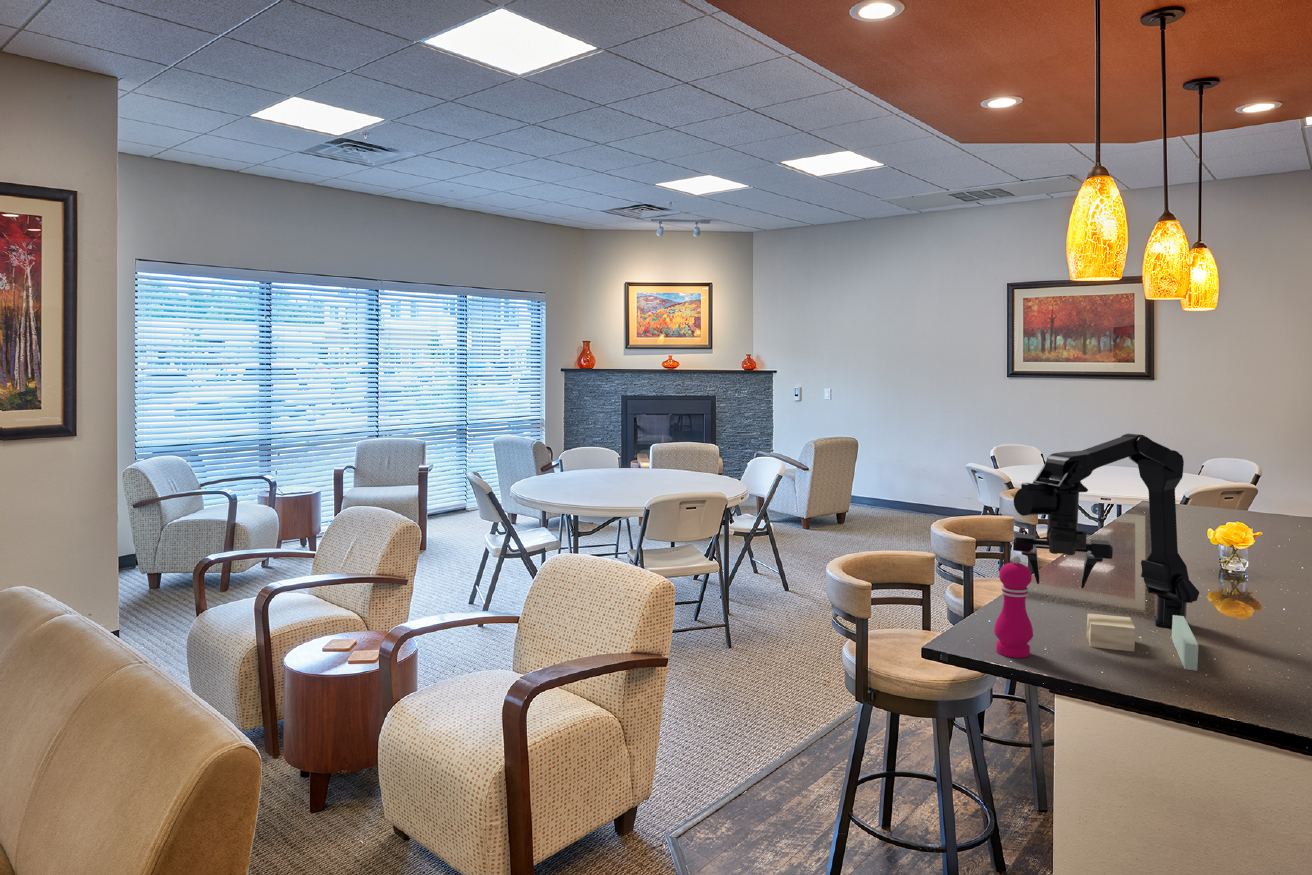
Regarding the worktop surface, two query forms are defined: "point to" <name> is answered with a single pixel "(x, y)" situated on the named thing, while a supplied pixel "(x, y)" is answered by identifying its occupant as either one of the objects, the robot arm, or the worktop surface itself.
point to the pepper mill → (1014, 611)
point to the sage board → (1185, 642)
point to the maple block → (1110, 632)
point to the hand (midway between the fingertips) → (1060, 585)
